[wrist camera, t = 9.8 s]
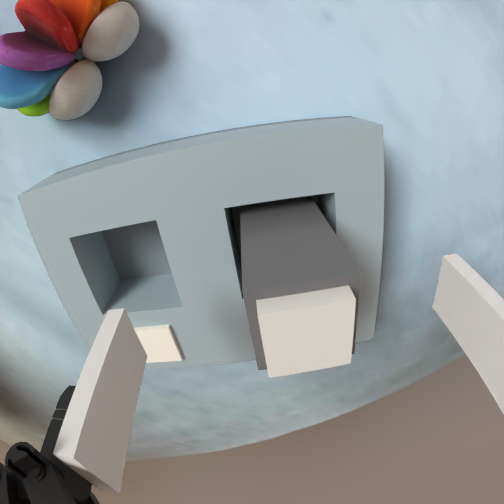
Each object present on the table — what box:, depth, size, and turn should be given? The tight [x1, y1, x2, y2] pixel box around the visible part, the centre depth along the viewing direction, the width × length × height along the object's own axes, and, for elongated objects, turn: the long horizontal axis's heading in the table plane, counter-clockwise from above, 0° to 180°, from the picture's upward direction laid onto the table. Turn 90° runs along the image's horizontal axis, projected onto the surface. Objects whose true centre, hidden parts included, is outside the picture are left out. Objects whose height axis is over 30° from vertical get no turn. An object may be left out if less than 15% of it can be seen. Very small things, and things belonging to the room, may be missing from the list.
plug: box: [240, 196, 360, 378], centre depth 15 cm, size 4×4×11 cm
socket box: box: [18, 116, 384, 369], centre depth 19 cm, size 20×14×5 cm
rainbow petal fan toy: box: [0, 0, 139, 120], centre depth 11 cm, size 8×10×7 cm
